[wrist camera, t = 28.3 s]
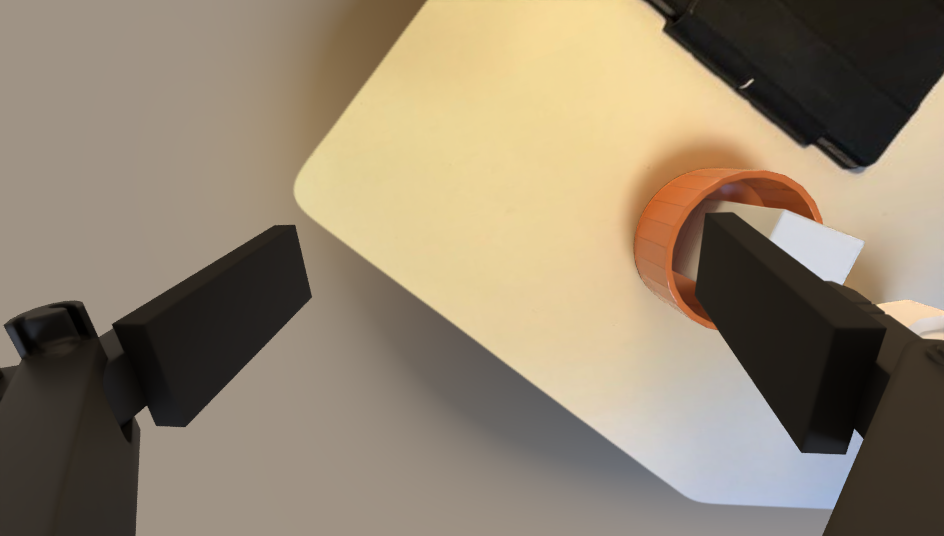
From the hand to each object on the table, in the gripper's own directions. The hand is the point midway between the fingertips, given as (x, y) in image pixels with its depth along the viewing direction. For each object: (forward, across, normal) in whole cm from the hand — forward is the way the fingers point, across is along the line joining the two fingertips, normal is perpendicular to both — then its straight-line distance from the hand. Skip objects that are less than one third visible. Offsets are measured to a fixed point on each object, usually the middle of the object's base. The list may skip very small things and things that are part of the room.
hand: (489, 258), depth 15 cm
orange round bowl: (+32, +18, -12) cm, 38 cm away
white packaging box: (+32, +18, -11) cm, 38 cm away
